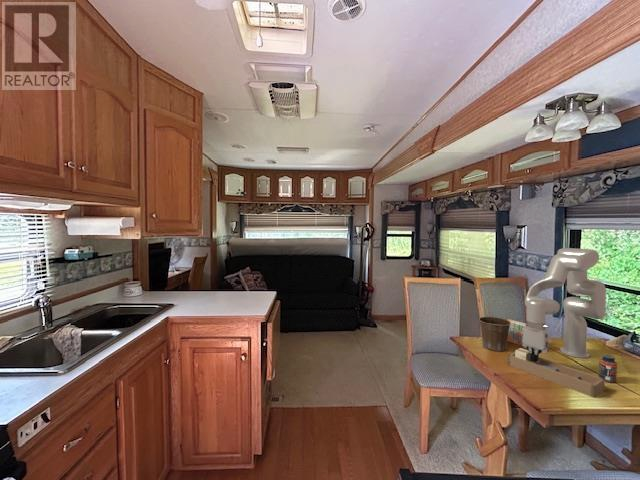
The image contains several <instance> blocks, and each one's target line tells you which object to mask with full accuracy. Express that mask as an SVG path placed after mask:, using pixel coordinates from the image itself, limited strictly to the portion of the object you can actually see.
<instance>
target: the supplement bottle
mask: <svg viewBox="0 0 640 480" xmlns="http://www.w3.org/2000/svg"><path fill="white" fill-rule="evenodd" d="M615 358H616V357H614V356H612V355H610V354H602V357H601V358H600V359H599V365H598V366H599V367H598V377H600V378H603V379H605V382H606V383H611V384H613V383H616V382H617V372H618V363H617V362H616V361H615Z"/></svg>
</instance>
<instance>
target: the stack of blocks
mask: <svg viewBox="0 0 640 480" xmlns="http://www.w3.org/2000/svg"><path fill="white" fill-rule="evenodd" d="M507 320H508V321H510V322H511V324H510V327H509V330H508V338H507V342H508V343H509V342H510V343H512V344H515V345H518V346H521V347H523V346H522V344H523V343H522V336H523V330H524V327H525V325H526V322H521V321H517V320H513V319H509V318H508V319H507ZM534 351H535V348H534Z"/></svg>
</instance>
